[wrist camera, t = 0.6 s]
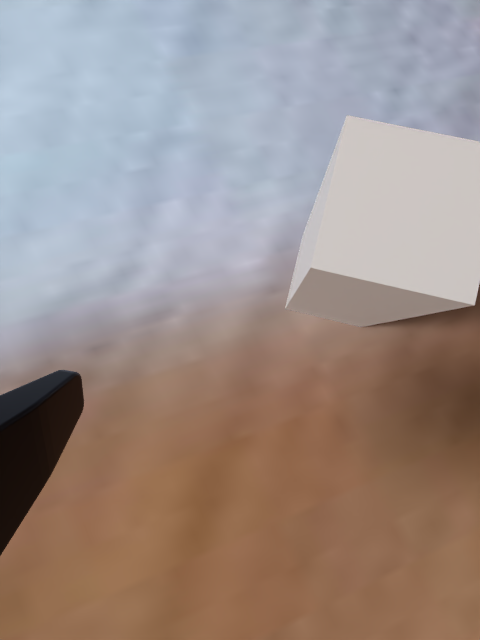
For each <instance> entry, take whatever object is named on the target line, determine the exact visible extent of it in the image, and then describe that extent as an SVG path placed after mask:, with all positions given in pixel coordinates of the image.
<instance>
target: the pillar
mask: <svg viewBox="0 0 480 640" xmlns="http://www.w3.org/2000/svg"><path fill="white" fill-rule="evenodd" d="M479 283H480V142H478V141H473V140H468V139H463V138H458V137H453V136H448V135H443V134H438V133H433V132H428V131H423V130H418V129H413V128H408V127H403V126H398V125H393V124H388V123H383V122H378V121H373V120H368V119H363V118H358V117H353V116H348V115H347V117H346V119H345V122H344V125H343V128H342V130H341V133H340V136H339V138H338V141H337V144H336V147H335V149H334V152H333V155H332V157H331V160H330V163H329V166H328V168H327V171H326V174H325V176H324V179H323V182H322V185H321V187H320V190H319V193H318V195H317V198H316V201H315V204H314V206H313V209H312V212H311V214H310V217H309V220H308V223H307V225H306V228H305V231H304V233H303V237H302V241H301V245H300V249H299V253H298V257H297V261H296V266H295V270H294V274H293V278H292V282H291V286H290V290H289V295H288V299H287V303H286V307H285V309H287V310H291V311H295V312H300V313H304V314H308V315H312V316H316V317H321V318H325V319H329V320H333V321H337V322H341V323H346V324H350V325H354V326H358V327H365V326H370V325H376V324H381V323H386V322H391V321H396V320H401V319H407V318H412V317H417V316H422V315H427V314H433V313H438V312H443V311H448V310H453V309H459V308H464V307H469V306H474V305H475V302H476V297H477V293H478V288H479Z"/></svg>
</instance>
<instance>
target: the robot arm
mask: <svg viewBox="0 0 480 640" xmlns="http://www.w3.org/2000/svg"><path fill="white" fill-rule="evenodd" d="M83 407H84V398H83V388H82V379H81V376H80V374H79V373H77V372H73V371H67V370H58V371H56V372H54V373H51V374H49V375H47V376H44V377H42V378H40V379H37V380H35V381H33V382H30V383H28V384H26V385H23V386H21V387H19V388H16V389H14V390H12V391H9V392H7V393H5V394H2V395H0V555H1V554H2V552H3V551H4V549H5V548H6V546H7V544H8V543H9V541H10V540H11V538H12V536H13V535H14V533H15V532H16V530H17V528H18V527H19V525H20V524H21V522H22V521H23V519H24V517H25V516H26V514H27V513H28V511H29V509H30V508H31V506H32V505H33V503H34V501H35V500H36V498H37V497H38V495H39V494H40V492H41V490H42V489H43V487H44V486H45V484H46V482H47V481H48V479H49V477H50V476H51V474H52V472H53V470H54V468H55V466H56V464H57V462H58V460H59V458H60V456H61V454H62V452H63V450H64V448H65V446H66V444H67V442H68V440H69V438H70V436H71V434H72V432H73V430H74V428H75V426H76V423H77V421H78V419H79V417H80V415H81V413H82V411H83Z"/></svg>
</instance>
